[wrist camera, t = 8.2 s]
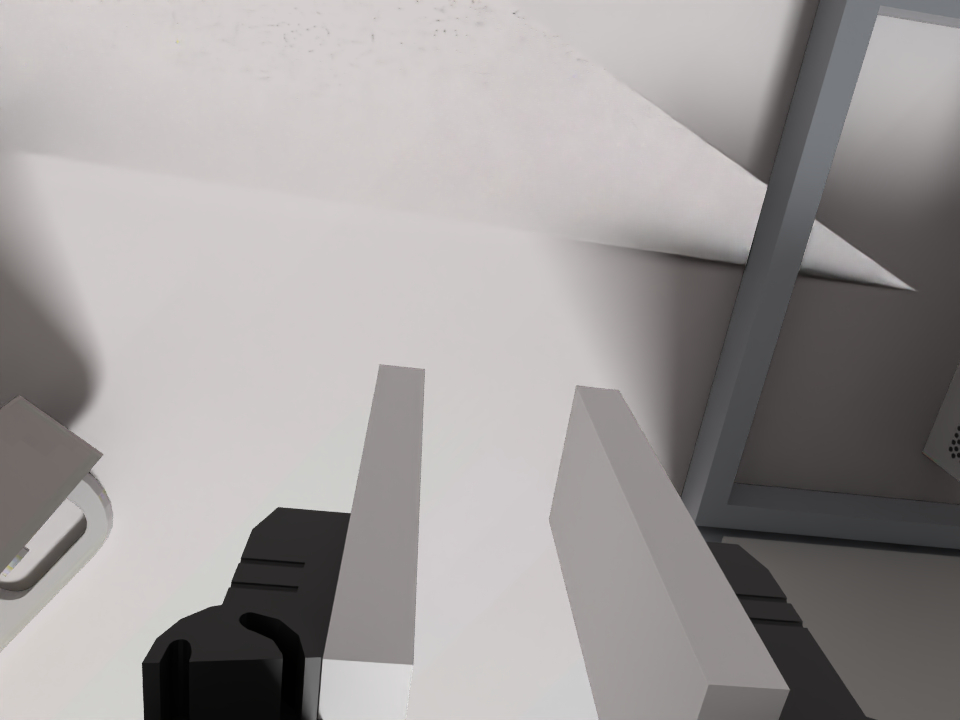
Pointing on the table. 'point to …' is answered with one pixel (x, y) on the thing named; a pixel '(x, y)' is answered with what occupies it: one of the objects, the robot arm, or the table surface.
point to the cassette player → (947, 431)
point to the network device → (43, 504)
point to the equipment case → (814, 514)
